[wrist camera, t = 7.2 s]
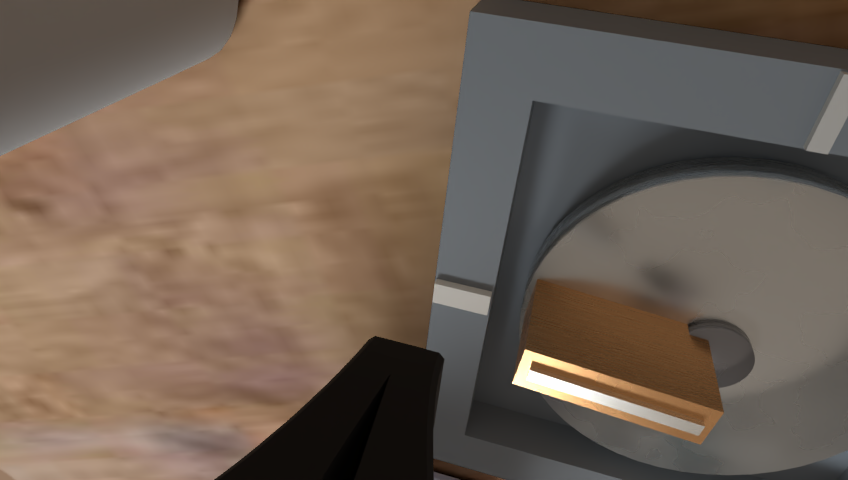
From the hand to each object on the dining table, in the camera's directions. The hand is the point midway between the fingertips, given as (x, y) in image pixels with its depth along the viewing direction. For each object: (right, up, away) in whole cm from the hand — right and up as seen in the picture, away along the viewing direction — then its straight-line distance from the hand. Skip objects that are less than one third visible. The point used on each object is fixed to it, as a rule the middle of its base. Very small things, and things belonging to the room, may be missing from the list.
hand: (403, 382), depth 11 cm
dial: (+10, 0, +9) cm, 14 cm away
